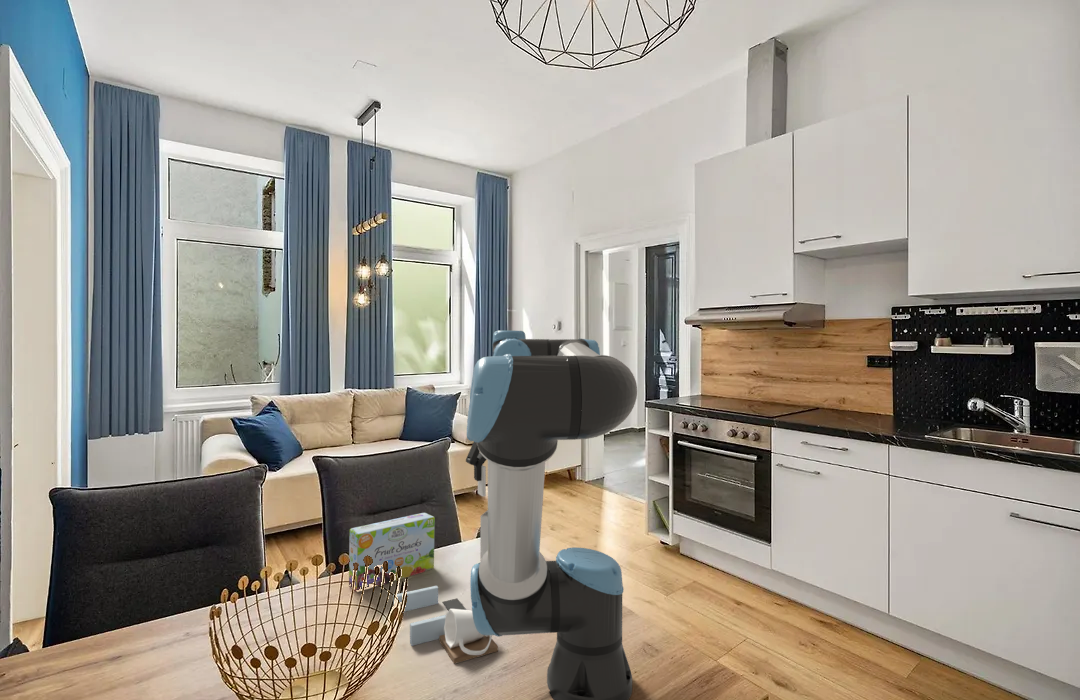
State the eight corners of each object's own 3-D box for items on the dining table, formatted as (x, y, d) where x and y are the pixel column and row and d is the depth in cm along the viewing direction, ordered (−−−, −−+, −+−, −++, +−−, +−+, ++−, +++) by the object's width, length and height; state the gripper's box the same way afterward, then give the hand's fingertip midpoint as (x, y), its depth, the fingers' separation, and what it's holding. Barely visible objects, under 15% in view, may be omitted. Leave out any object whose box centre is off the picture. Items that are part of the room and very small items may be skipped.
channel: (459, 633, 112) (459, 614, 112) (411, 645, 108) (411, 626, 108) (436, 602, 126) (436, 585, 126) (393, 612, 121) (393, 594, 121)
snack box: (357, 596, 129) (357, 533, 129) (348, 588, 133) (348, 527, 133) (435, 572, 143) (435, 515, 143) (424, 565, 148) (424, 510, 147)
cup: (486, 597, 112) (449, 600, 108) (503, 636, 103) (463, 641, 100) (478, 624, 114) (441, 628, 110) (493, 664, 105) (454, 670, 102)
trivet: (497, 651, 106) (497, 646, 106) (454, 663, 102) (454, 658, 102) (480, 629, 114) (480, 625, 114) (439, 640, 110) (439, 635, 110)
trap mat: (477, 625, 116) (477, 623, 116) (461, 629, 114) (461, 627, 114) (457, 600, 127) (457, 598, 127) (442, 603, 125) (442, 601, 125)
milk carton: (480, 572, 143) (480, 501, 143) (490, 562, 150) (490, 494, 150) (505, 575, 141) (505, 503, 141) (514, 565, 148) (514, 496, 148)
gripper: (548, 394, 132) (547, 480, 133) (451, 399, 120) (451, 494, 120) (564, 396, 126) (564, 487, 126) (464, 402, 114) (464, 502, 114)
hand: (509, 490), depth 123 cm, fingers open, 13 cm apart
